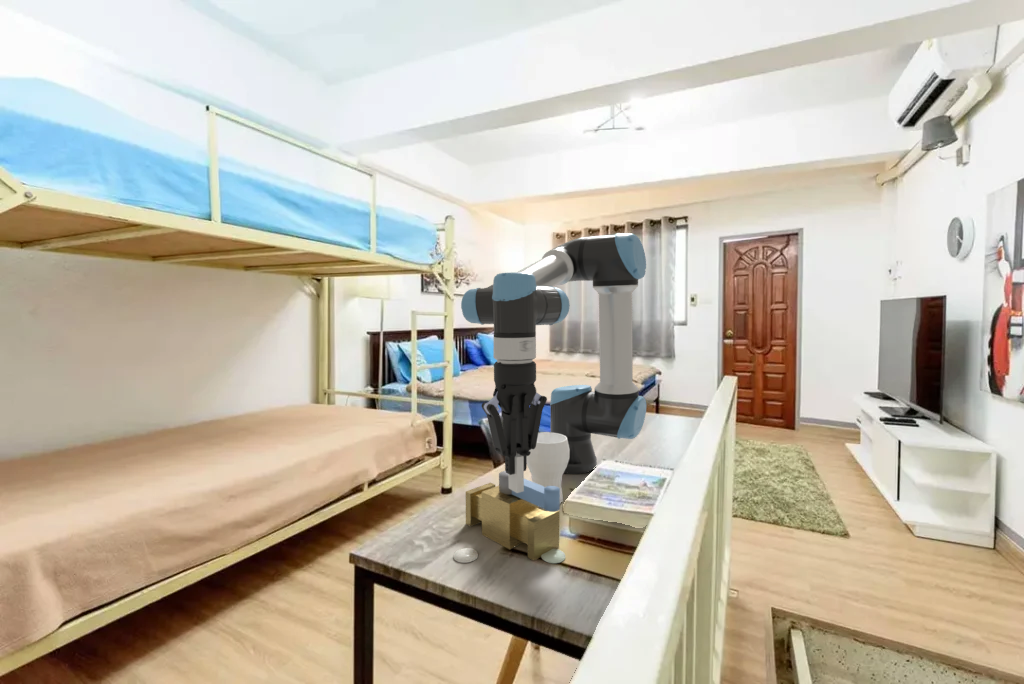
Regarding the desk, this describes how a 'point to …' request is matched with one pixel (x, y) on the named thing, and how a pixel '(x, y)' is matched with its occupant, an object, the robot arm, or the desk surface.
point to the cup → (549, 459)
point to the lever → (533, 493)
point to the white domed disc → (465, 555)
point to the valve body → (512, 520)
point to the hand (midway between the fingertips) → (516, 489)
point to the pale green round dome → (553, 556)
